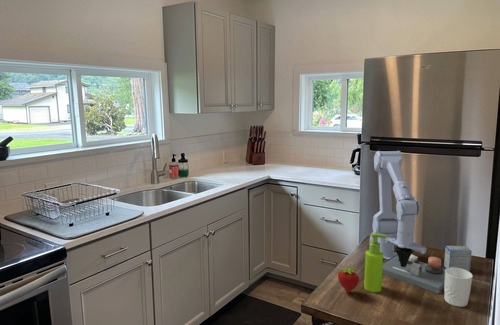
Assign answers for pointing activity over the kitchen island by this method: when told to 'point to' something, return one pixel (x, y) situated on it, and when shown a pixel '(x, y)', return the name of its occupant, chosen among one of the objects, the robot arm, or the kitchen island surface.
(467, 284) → the white cup
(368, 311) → the kitchen island surface
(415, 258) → the rocker switch
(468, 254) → the medicine box
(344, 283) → the strawberry
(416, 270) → the slider knob
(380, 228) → the robot arm
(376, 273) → the soap dispenser
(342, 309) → the kitchen island surface
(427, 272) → the panel
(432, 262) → the push button
